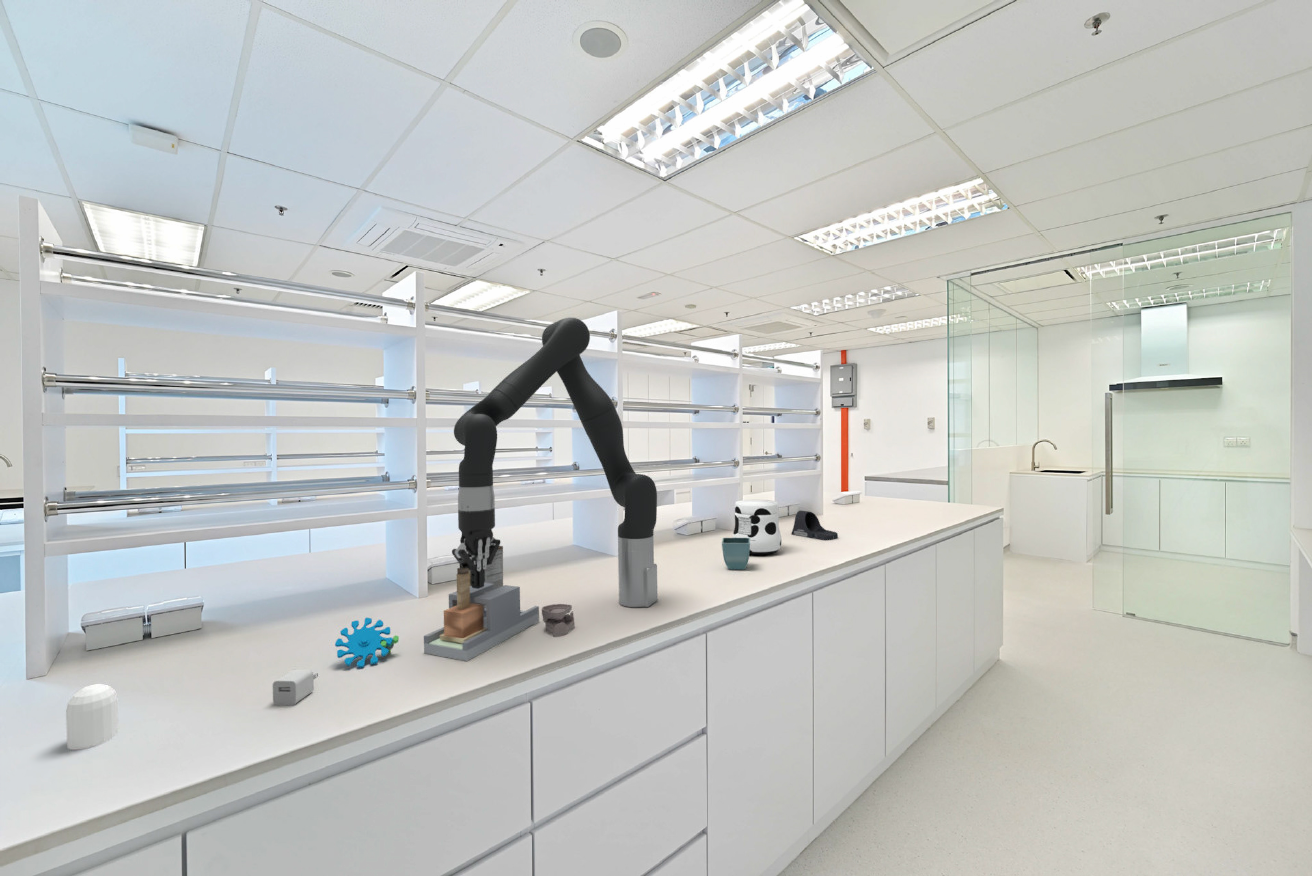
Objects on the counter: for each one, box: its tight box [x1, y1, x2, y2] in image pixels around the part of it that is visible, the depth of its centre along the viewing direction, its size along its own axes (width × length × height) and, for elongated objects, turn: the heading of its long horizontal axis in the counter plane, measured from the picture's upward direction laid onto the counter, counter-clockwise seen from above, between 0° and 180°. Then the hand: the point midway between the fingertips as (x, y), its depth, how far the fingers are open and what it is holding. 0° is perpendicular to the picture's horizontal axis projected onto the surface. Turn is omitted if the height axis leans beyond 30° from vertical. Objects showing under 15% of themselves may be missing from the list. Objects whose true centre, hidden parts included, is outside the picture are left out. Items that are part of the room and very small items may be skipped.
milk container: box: [732, 499, 782, 555], centre depth 199 cm, size 17×17×18 cm
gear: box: [334, 617, 400, 669], centre depth 110 cm, size 11×6×10 cm
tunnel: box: [423, 583, 540, 662], centre depth 121 cm, size 11×24×10 cm, turn 157°
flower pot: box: [721, 537, 750, 571], centre depth 177 cm, size 9×9×9 cm
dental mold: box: [541, 603, 575, 638], centre depth 124 cm, size 8×7×5 cm
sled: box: [440, 566, 487, 643], centre depth 115 cm, size 6×7×14 cm
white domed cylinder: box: [65, 683, 120, 751], centre depth 82 cm, size 5×5×8 cm
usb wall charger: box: [272, 669, 319, 706], centre depth 95 cm, size 4×7×4 cm, turn 178°
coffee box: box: [459, 545, 504, 608], centre depth 139 cm, size 9×6×16 cm
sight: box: [790, 510, 839, 541], centre depth 227 cm, size 9×18×10 cm, turn 36°
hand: (478, 587), depth 119 cm, fingers closed
